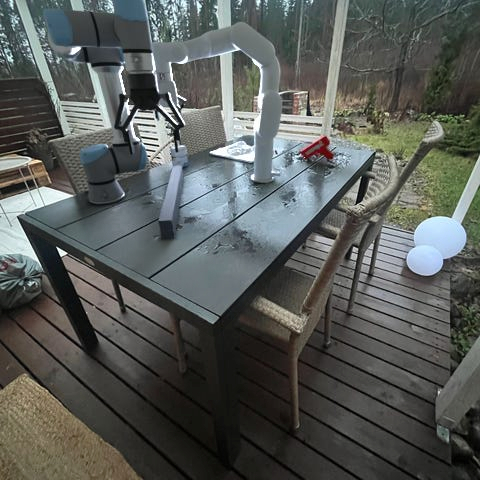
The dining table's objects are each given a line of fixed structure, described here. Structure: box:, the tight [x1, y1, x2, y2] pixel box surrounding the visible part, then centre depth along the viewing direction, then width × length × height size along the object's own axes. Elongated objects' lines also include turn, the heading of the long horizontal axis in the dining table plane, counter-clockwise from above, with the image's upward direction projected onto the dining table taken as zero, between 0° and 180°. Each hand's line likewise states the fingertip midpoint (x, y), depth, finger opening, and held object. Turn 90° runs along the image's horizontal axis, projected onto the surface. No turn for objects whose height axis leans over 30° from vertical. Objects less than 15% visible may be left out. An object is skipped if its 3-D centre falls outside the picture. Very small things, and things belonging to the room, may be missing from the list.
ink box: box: [169, 144, 189, 168], centre depth 162 cm, size 8×5×12 cm, turn 135°
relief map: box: [209, 140, 274, 164], centre depth 187 cm, size 27×35×5 cm
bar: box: [158, 166, 184, 240], centre depth 120 cm, size 61×4×7 cm, turn 7°
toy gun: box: [299, 134, 335, 162], centre depth 173 cm, size 18×4×15 cm
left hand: (155, 152), depth 85 cm, fingers open, 13 cm apart
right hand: (169, 120), depth 126 cm, fingers open, 9 cm apart
